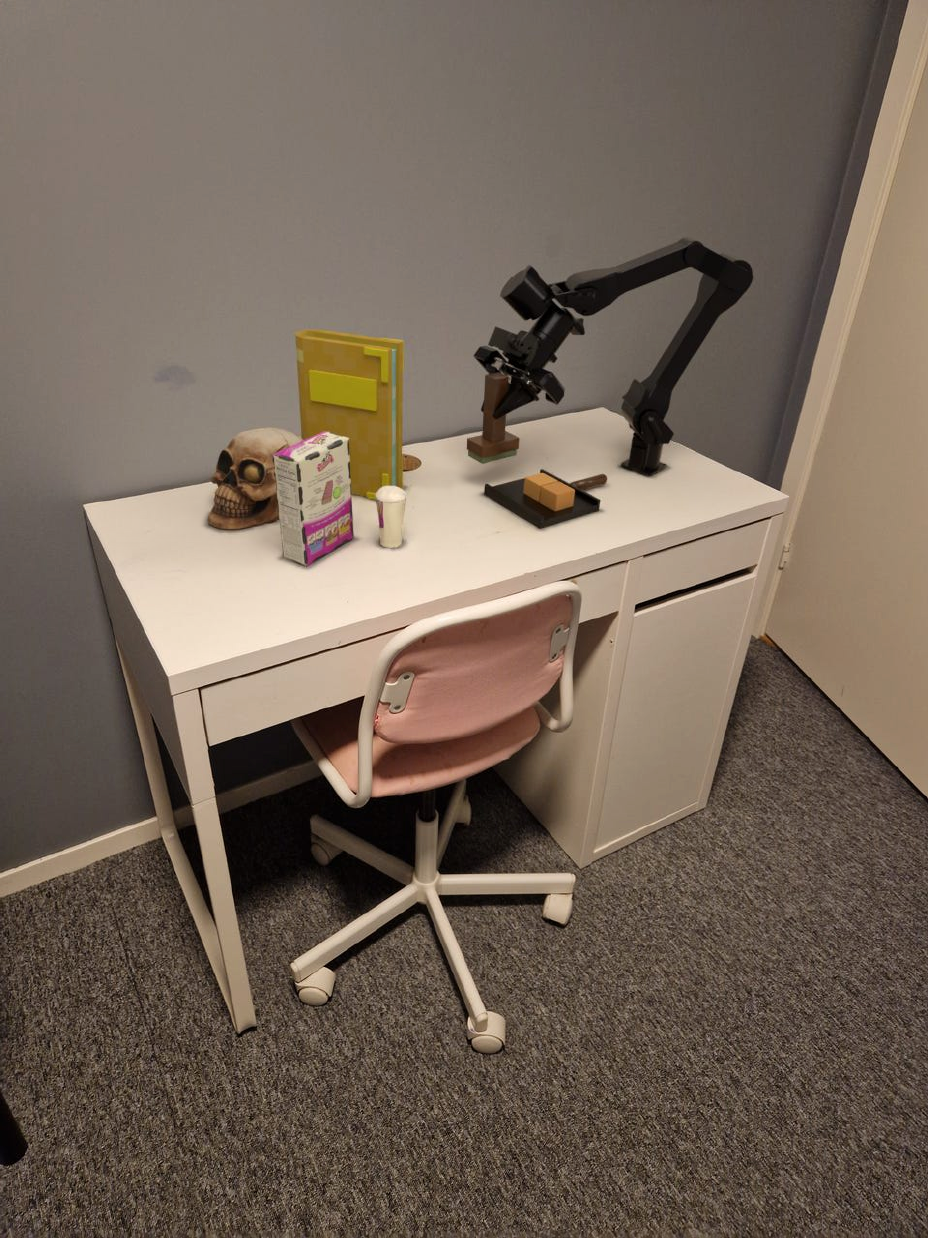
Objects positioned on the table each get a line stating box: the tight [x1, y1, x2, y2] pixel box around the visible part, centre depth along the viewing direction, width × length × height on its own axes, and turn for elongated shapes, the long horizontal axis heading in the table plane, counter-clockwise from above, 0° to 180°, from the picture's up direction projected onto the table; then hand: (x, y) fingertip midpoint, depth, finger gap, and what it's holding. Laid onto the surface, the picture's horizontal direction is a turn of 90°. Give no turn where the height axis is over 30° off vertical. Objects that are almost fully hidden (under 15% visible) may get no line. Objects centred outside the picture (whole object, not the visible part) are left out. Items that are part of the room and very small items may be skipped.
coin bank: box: [207, 427, 303, 530], centre depth 136 cm, size 16×17×13 cm
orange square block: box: [540, 482, 575, 511], centre depth 141 cm, size 4×4×3 cm
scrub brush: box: [466, 372, 520, 465], centre depth 144 cm, size 8×4×14 cm, turn 126°
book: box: [295, 328, 405, 501], centre depth 140 cm, size 17×7×25 cm, turn 71°
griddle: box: [483, 468, 608, 529], centre depth 147 cm, size 22×15×2 cm
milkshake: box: [375, 485, 412, 549], centre depth 127 cm, size 4×5×10 cm
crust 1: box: [523, 472, 558, 502], centre depth 144 cm, size 4×4×3 cm
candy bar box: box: [273, 431, 355, 567], centre depth 123 cm, size 11×5×16 cm, turn 148°
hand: (488, 414), depth 143 cm, fingers closed on scrub brush, 3 cm apart
